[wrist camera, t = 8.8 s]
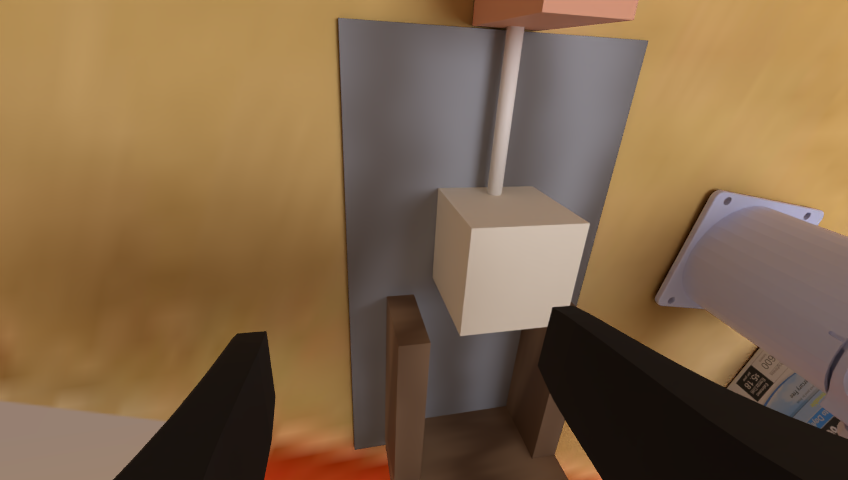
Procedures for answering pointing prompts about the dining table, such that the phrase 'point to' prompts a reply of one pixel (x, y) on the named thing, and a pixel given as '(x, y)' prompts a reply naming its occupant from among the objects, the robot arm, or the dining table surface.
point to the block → (512, 201)
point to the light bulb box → (783, 391)
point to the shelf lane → (416, 224)
